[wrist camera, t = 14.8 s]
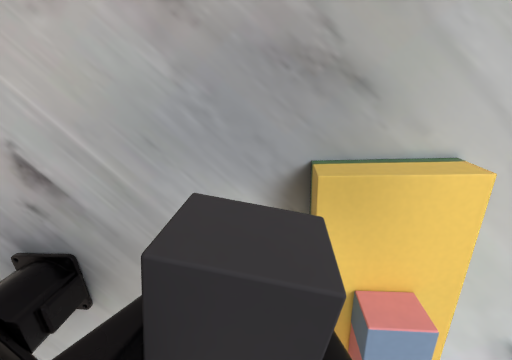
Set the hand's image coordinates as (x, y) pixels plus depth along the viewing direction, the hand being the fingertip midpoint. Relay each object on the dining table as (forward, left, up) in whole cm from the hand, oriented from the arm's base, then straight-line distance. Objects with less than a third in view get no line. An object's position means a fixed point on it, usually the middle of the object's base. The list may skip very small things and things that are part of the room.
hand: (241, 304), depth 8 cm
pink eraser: (+8, -11, -9) cm, 16 cm away
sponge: (+8, -7, -12) cm, 17 cm away
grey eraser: (0, 0, -1) cm, 1 cm away
